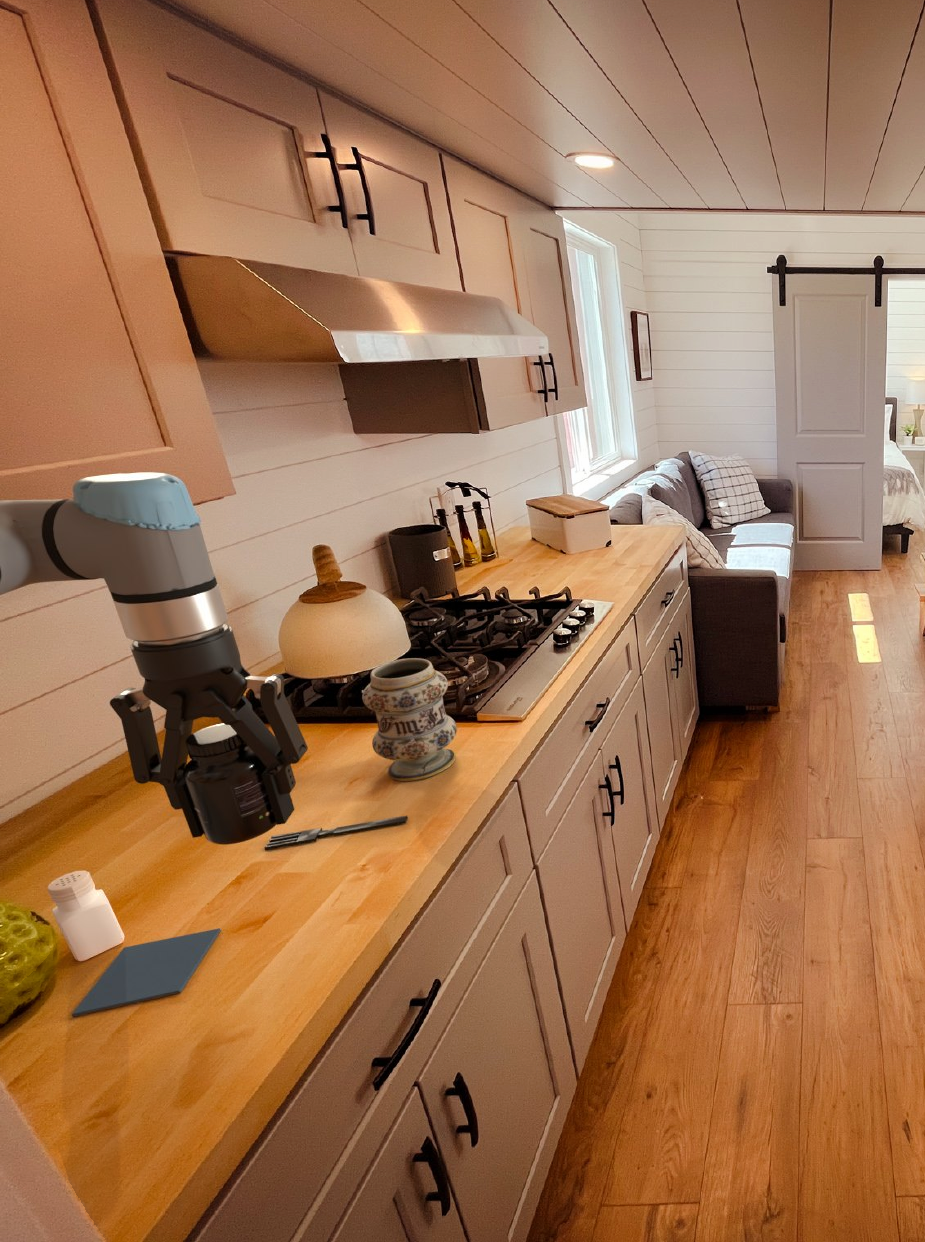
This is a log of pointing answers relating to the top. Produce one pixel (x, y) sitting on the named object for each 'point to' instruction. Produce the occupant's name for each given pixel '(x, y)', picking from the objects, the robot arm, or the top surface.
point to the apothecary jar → (411, 718)
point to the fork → (328, 832)
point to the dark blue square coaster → (148, 972)
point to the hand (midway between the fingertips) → (245, 822)
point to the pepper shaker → (84, 915)
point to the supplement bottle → (227, 786)
